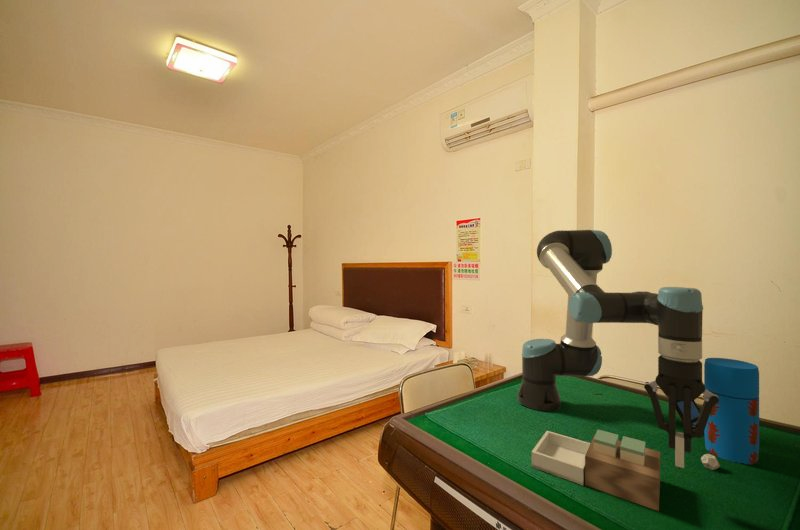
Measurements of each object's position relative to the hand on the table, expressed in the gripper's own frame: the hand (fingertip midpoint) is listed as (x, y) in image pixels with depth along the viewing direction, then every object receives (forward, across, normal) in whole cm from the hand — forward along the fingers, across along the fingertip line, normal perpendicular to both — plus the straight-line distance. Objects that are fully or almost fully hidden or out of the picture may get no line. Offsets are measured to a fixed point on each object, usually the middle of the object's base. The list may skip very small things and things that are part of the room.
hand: (679, 464), depth 76 cm
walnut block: (+8, -10, 0) cm, 13 cm away
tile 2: (+1, -8, 0) cm, 9 cm away
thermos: (+9, +12, +33) cm, 36 cm away
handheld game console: (+9, +6, +49) cm, 50 cm away
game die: (+9, +6, +21) cm, 24 cm away
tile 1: (+1, -14, 0) cm, 14 cm away
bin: (+8, -24, 0) cm, 25 cm away
